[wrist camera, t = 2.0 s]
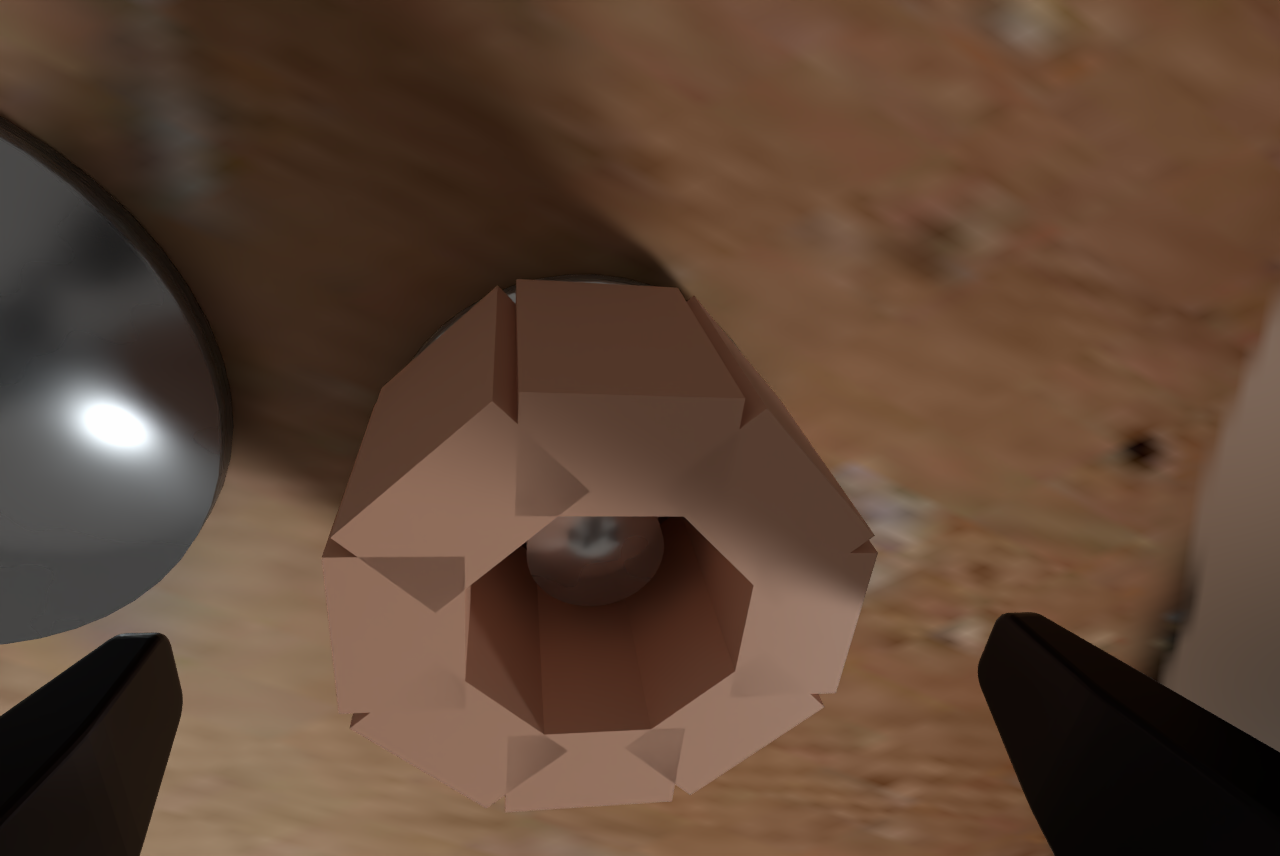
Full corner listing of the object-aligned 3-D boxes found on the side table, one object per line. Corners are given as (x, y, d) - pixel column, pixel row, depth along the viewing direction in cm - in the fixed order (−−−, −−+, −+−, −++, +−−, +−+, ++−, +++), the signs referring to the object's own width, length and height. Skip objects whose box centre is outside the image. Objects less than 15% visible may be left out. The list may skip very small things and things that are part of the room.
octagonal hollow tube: (808, 294, 11) (923, 403, 8) (740, 619, 14) (806, 792, 11) (366, 270, 10) (302, 385, 7) (388, 627, 13) (350, 822, 10)
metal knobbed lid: (798, 286, 11) (864, 347, 9) (734, 604, 14) (773, 707, 12) (371, 261, 10) (335, 325, 8) (392, 611, 13) (369, 726, 11)
